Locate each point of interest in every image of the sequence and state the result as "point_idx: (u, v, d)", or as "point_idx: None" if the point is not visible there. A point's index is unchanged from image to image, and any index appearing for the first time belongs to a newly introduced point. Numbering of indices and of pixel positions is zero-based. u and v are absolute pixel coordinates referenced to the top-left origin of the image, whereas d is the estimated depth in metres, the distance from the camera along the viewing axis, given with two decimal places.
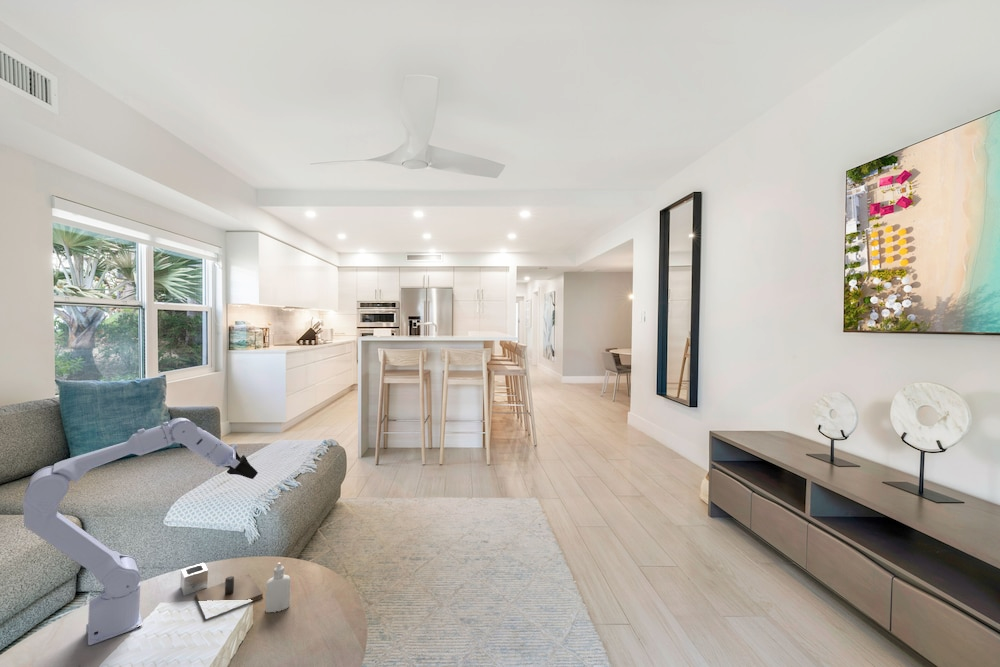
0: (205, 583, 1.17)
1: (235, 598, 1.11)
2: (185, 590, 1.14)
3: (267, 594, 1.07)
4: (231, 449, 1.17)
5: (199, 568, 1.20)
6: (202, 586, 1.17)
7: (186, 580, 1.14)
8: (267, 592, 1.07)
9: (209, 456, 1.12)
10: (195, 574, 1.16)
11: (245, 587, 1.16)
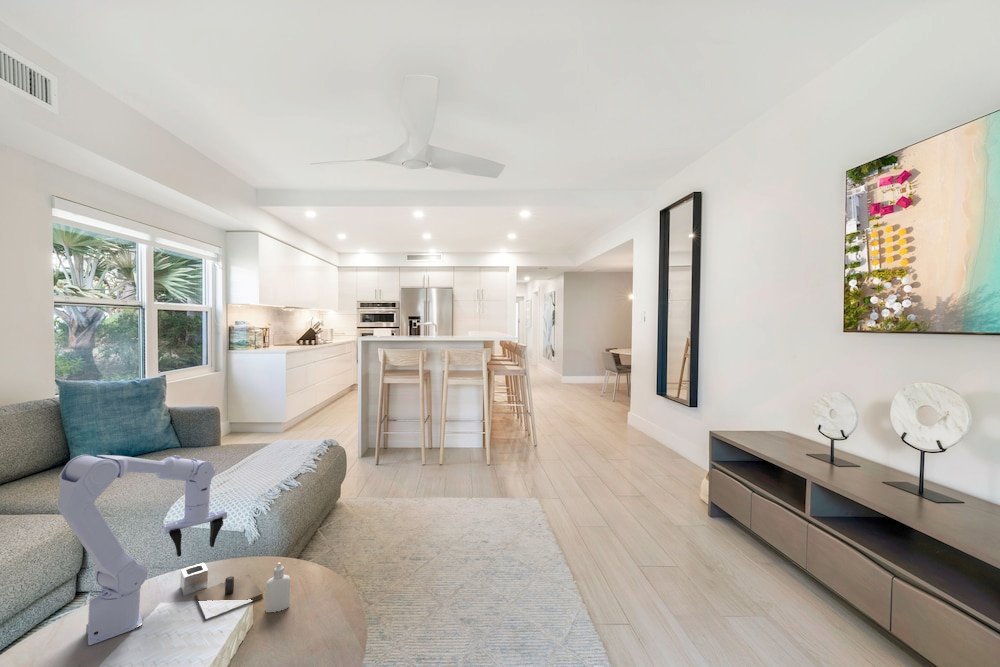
0: (205, 583, 1.17)
1: (235, 598, 1.11)
2: (185, 590, 1.14)
3: (267, 594, 1.07)
4: None
5: (199, 568, 1.20)
6: (202, 586, 1.17)
7: (186, 580, 1.14)
8: (267, 592, 1.07)
9: (207, 504, 1.18)
10: (195, 574, 1.16)
11: (245, 587, 1.16)
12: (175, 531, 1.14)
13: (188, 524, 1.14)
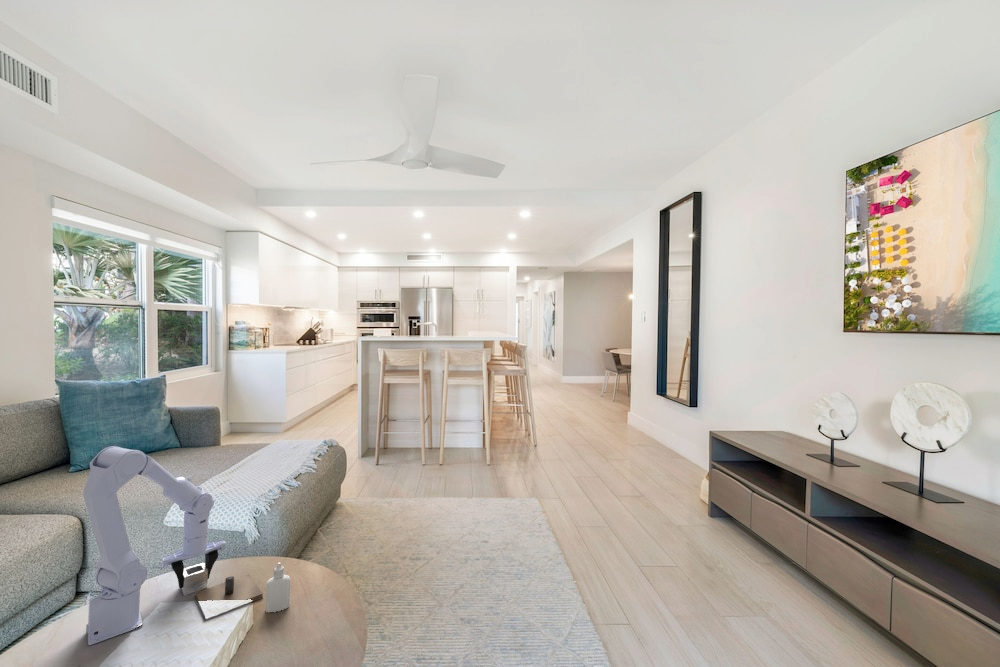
0: (205, 583, 1.17)
1: (235, 598, 1.11)
2: (185, 590, 1.14)
3: (267, 594, 1.07)
4: None
5: (199, 568, 1.20)
6: (202, 586, 1.17)
7: (186, 580, 1.14)
8: (267, 592, 1.07)
9: (206, 536, 1.18)
10: (195, 574, 1.16)
11: (245, 587, 1.16)
12: (173, 564, 1.13)
13: (187, 557, 1.14)
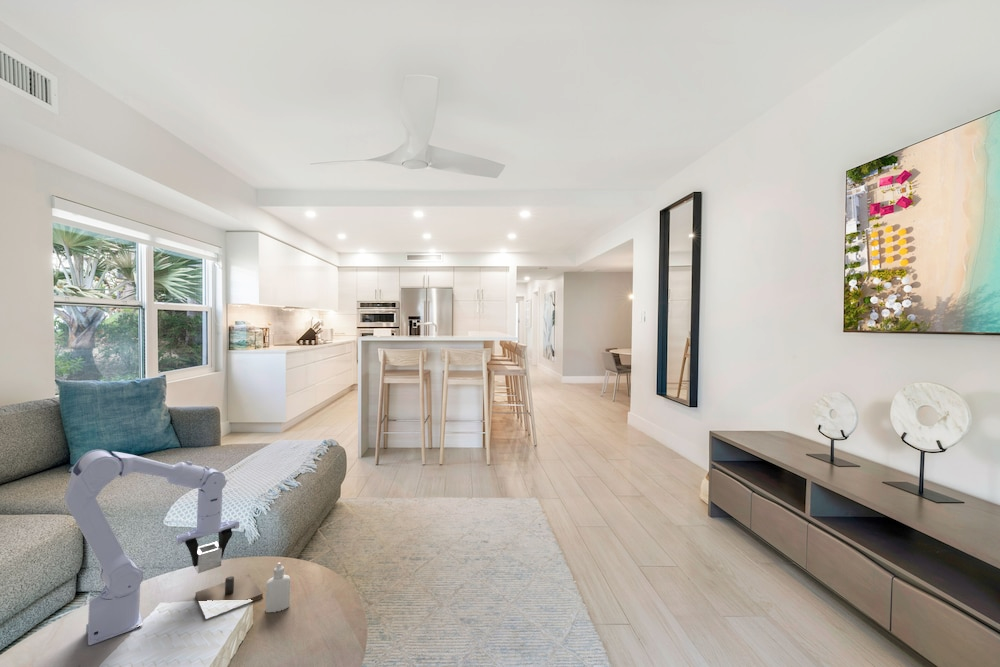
0: (219, 561, 1.16)
1: (235, 598, 1.11)
2: (199, 568, 1.13)
3: (267, 594, 1.07)
4: None
5: (212, 547, 1.19)
6: (216, 564, 1.15)
7: (200, 558, 1.13)
8: (267, 592, 1.07)
9: (220, 514, 1.17)
10: (209, 552, 1.14)
11: (245, 587, 1.16)
12: (188, 542, 1.12)
13: (201, 534, 1.13)
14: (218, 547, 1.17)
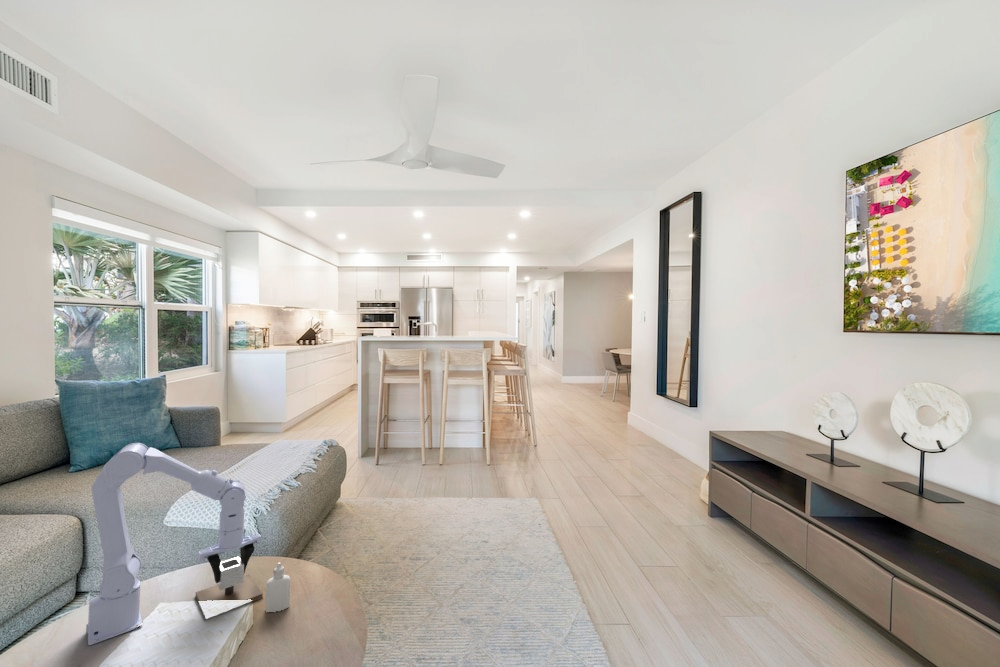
0: (241, 577, 1.13)
1: (235, 598, 1.11)
2: (222, 585, 1.10)
3: (267, 594, 1.07)
4: None
5: (234, 562, 1.16)
6: (238, 580, 1.13)
7: (223, 574, 1.10)
8: (267, 592, 1.07)
9: (242, 529, 1.14)
10: (231, 568, 1.12)
11: (245, 587, 1.16)
12: (210, 558, 1.09)
13: (223, 550, 1.10)
14: (240, 563, 1.14)
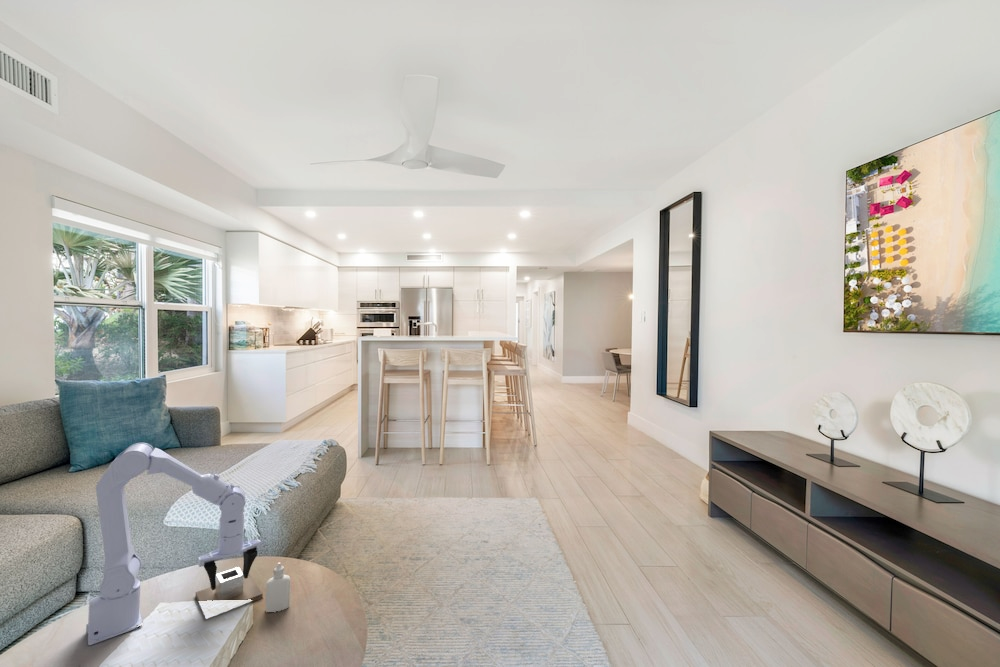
0: (241, 588, 1.13)
1: (235, 598, 1.11)
2: (221, 596, 1.10)
3: (267, 594, 1.07)
4: None
5: (234, 573, 1.16)
6: (238, 591, 1.13)
7: (222, 585, 1.10)
8: (267, 592, 1.07)
9: (242, 534, 1.14)
10: (231, 579, 1.12)
11: (245, 587, 1.16)
12: (210, 563, 1.09)
13: (223, 556, 1.10)
14: (240, 573, 1.14)
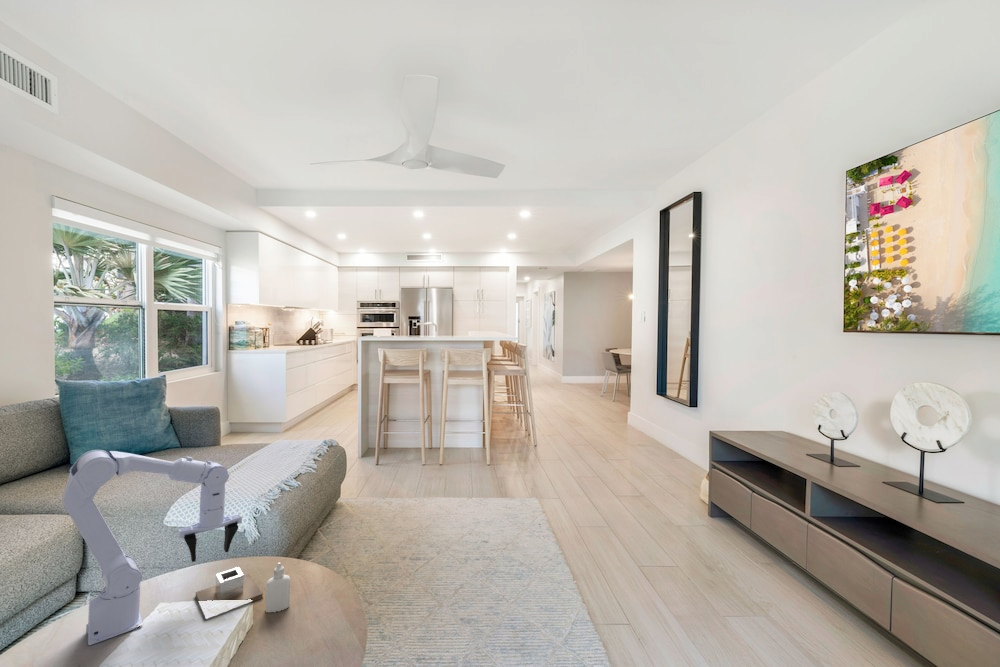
0: (241, 588, 1.13)
1: (235, 598, 1.11)
2: (221, 596, 1.10)
3: (267, 594, 1.07)
4: None
5: (234, 573, 1.16)
6: (238, 591, 1.13)
7: (222, 585, 1.10)
8: (267, 592, 1.07)
9: (222, 508, 1.16)
10: (231, 579, 1.12)
11: (245, 587, 1.16)
12: (190, 536, 1.11)
13: (203, 529, 1.12)
14: (240, 573, 1.14)
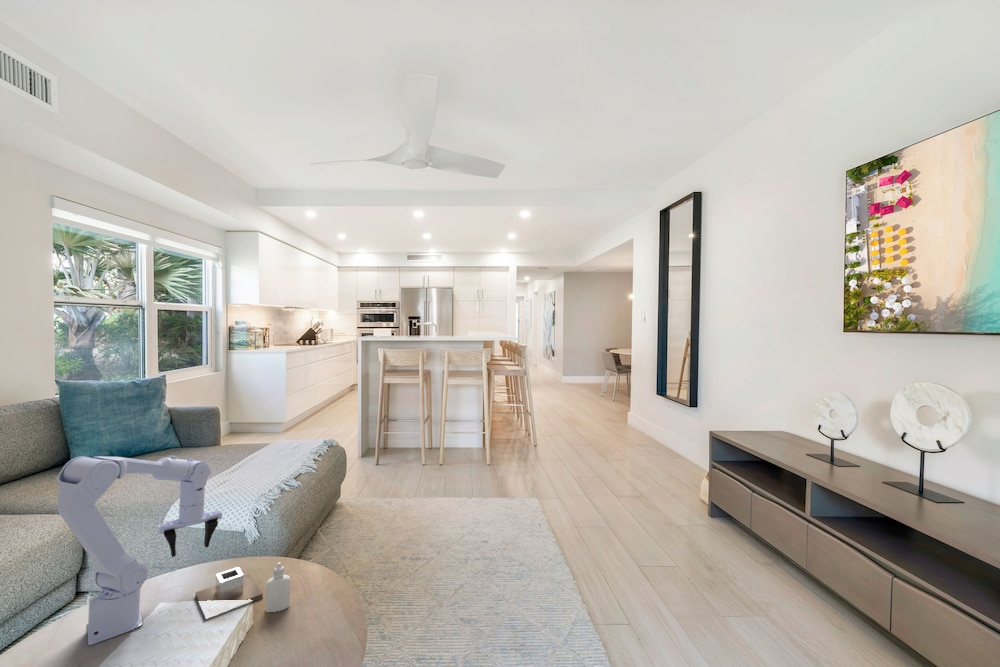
0: (241, 588, 1.13)
1: (235, 598, 1.11)
2: (221, 596, 1.10)
3: (267, 594, 1.07)
4: None
5: (234, 573, 1.16)
6: (238, 591, 1.13)
7: (222, 585, 1.10)
8: (267, 592, 1.07)
9: (202, 504, 1.18)
10: (231, 579, 1.12)
11: (245, 587, 1.16)
12: (170, 531, 1.14)
13: (183, 524, 1.14)
14: (240, 573, 1.14)
